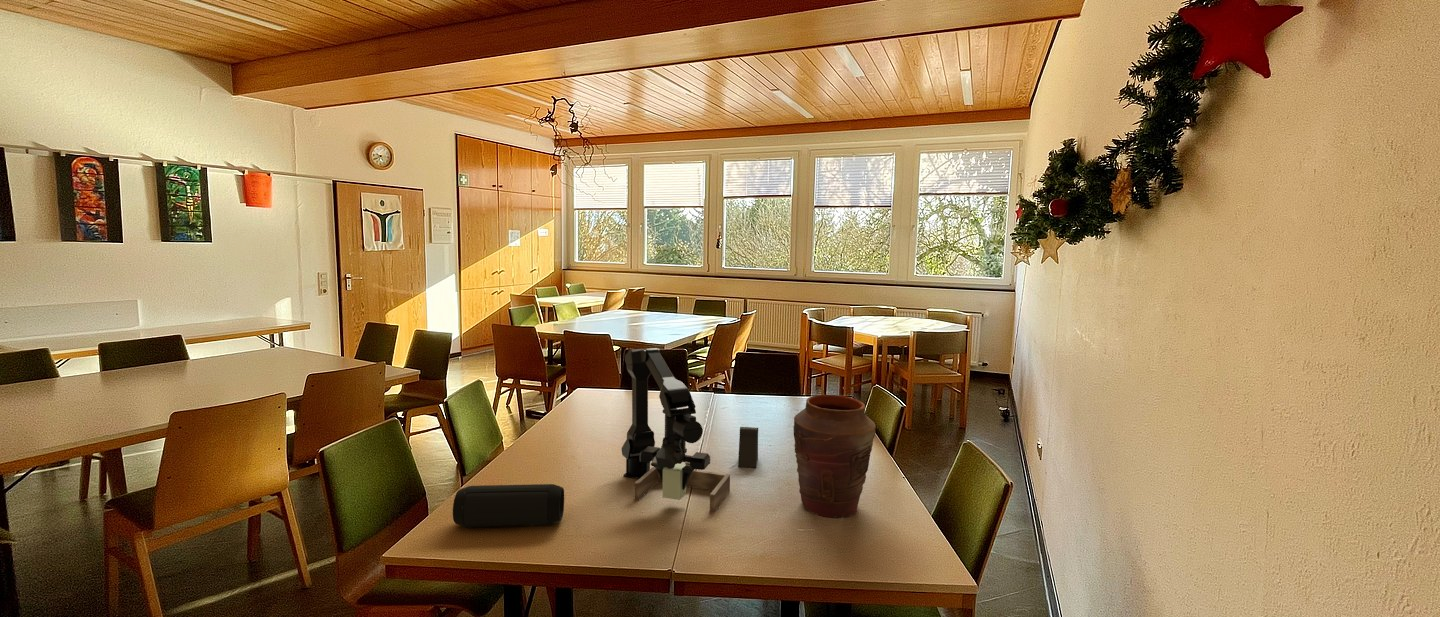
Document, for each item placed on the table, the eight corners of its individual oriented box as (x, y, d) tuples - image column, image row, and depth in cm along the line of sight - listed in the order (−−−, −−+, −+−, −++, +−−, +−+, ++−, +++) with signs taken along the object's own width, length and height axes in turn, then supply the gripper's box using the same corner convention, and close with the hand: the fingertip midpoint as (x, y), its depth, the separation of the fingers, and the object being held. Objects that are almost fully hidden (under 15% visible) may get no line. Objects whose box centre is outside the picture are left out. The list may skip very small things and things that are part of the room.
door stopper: (756, 468, 193) (757, 432, 191) (737, 467, 193) (738, 431, 192) (758, 458, 201) (759, 424, 200) (740, 457, 202) (741, 423, 201)
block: (662, 497, 161) (662, 468, 160) (669, 490, 166) (669, 462, 165) (679, 500, 160) (680, 471, 159) (686, 492, 165) (686, 464, 164)
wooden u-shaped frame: (634, 500, 166) (634, 482, 166) (656, 480, 181) (656, 464, 180) (713, 512, 160) (714, 494, 159) (729, 491, 174) (730, 474, 174)
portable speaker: (565, 514, 157) (564, 477, 156) (558, 532, 147) (558, 493, 146) (464, 516, 154) (463, 479, 153) (451, 535, 145) (450, 495, 144)
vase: (866, 532, 151) (872, 416, 147) (781, 516, 158) (785, 406, 155) (875, 497, 172) (880, 396, 169) (800, 485, 179) (803, 388, 176)
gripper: (630, 437, 156) (630, 494, 158) (698, 445, 151) (697, 504, 152) (648, 425, 167) (647, 479, 168) (711, 432, 161) (710, 488, 163)
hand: (674, 488), depth 163 cm, fingers closed on block, 5 cm apart
